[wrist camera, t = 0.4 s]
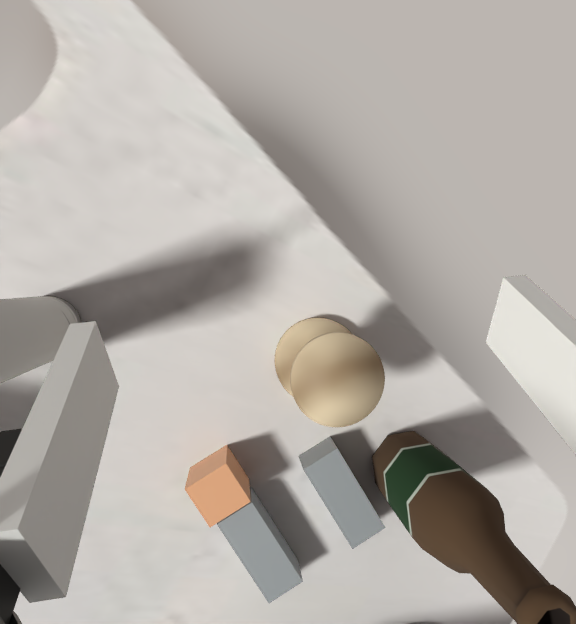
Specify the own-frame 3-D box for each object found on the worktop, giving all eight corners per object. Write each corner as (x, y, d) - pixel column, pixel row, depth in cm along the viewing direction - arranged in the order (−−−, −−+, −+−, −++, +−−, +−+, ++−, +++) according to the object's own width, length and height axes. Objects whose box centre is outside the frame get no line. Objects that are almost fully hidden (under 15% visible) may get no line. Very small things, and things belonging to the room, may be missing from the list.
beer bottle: (448, 472, 50) (638, 642, 27) (389, 509, 50) (530, 716, 26) (416, 414, 50) (582, 537, 26) (356, 451, 49) (469, 612, 25)
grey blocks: (374, 510, 50) (385, 527, 46) (266, 580, 49) (269, 603, 45) (330, 436, 49) (337, 448, 45) (218, 506, 48) (217, 524, 44)
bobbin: (372, 372, 49) (408, 396, 38) (302, 416, 48) (319, 452, 38) (331, 301, 48) (357, 307, 37) (258, 345, 47) (265, 363, 37)
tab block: (249, 479, 48) (250, 501, 43) (212, 501, 48) (209, 527, 43) (227, 444, 47) (225, 463, 42) (190, 467, 47) (184, 489, 42)
